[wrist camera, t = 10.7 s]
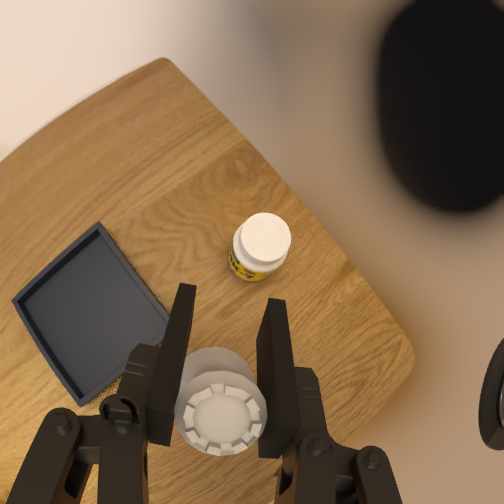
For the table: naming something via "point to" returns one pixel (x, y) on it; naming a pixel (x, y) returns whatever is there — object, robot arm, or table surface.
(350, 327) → the table surface
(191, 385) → the rook chess piece
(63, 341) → the dark tray
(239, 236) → the supplement bottle
